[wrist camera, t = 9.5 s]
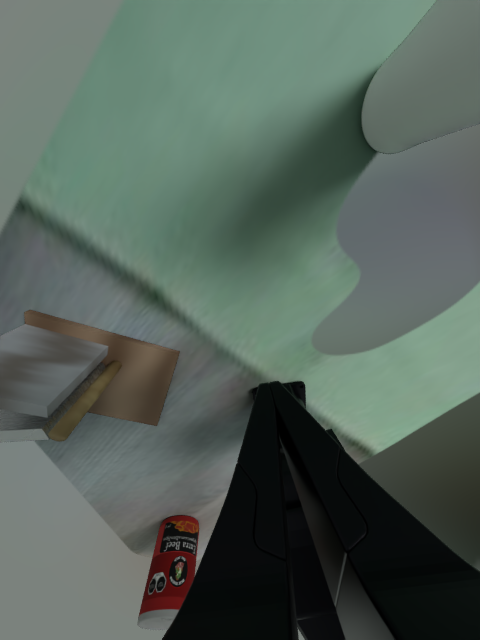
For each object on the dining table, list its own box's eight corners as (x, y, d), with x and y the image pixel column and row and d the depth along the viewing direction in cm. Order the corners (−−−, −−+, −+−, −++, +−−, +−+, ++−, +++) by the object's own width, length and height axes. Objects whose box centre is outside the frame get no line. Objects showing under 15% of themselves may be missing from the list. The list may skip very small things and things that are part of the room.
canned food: (206, 518, 39) (197, 618, 29) (191, 534, 42) (178, 630, 32) (168, 511, 37) (145, 616, 27) (155, 529, 40) (130, 629, 30)
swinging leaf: (103, 362, 21) (41, 428, 14) (106, 371, 21) (49, 439, 14) (30, 366, 20) (-69, 434, 14) (35, 374, 21) (-57, 445, 14)
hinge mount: (179, 351, 22) (151, 421, 14) (158, 421, 26) (128, 503, 18) (30, 309, 19) (-111, 368, 11) (35, 396, 23) (-61, 481, 16)
